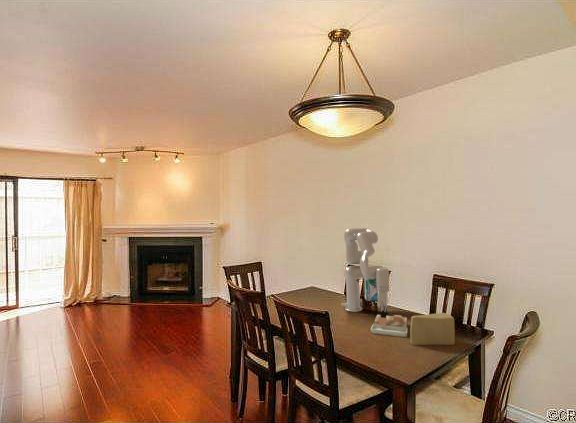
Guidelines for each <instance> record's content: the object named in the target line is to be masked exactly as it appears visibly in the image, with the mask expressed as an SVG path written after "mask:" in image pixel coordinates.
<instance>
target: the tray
mask: <svg viewBox="0 0 576 423" xmlns="http://www.w3.org/2000/svg"><path fill="white" fill-rule="evenodd" d="M408 330H409V328H408V326H407V327H399V326H389V325H387V326H382V325H379V324H375V323H372V325H371V327H370V334H373V335H382V336H391V337H399V338H408V333H409V332H408Z"/></svg>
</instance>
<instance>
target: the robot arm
mask: <svg viewBox="0 0 576 423" xmlns="http://www.w3.org/2000/svg"><path fill="white" fill-rule="evenodd" d="M343 238H344V243H345V252H346V253H345V254H346V255H345V256H346V257H345V258H346V263H347V264H348V265H350V266H347V267H346V268H344V276H345V285H346V286H345V287H346V302H341V304H340V305H341V306H342V307H344V310H345V311H347V312H351V313H352V312H354V313H357V312H362V311H363V307H362V306H361V298H360V297H361V294H360V293H361V292H360V284H359V282H358V280H360V279H363V280H364V278H368V279H369V278H376V286H377V291H378V301H377V308H378V309H379V308H380V315H381V318H386V316H387V306H388V292H390V271H389V269H388V268H387V267H383V266H382V265H371V266H369V258H370V257H371V256H373V255H374V254H375V252H376V251H375V248H374V246H373V245H374V244H376V243H378V240H379V237H378V235H377V232H375V231H374V230H371V229H369V228H366V227H361V228H359V227H358V228H349V229H346V230H344V234H343ZM359 249H360V250H359Z"/></svg>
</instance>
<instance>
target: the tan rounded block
mask: <svg viewBox="0 0 576 423" xmlns="http://www.w3.org/2000/svg"><path fill="white" fill-rule="evenodd" d="M455 331H456V330H455V318H454V317H453V316H452V315H450V314H448V313H445V312H438V313H429V314H420V315H419V314H418V315H413V316H411V317H410V332H409V335H410V336H409V337H410V344H411V345H412V346H423V345H425V346H429V345H432V346H433V345H440V346H442V345H443V346H445V345H446V346H448V345H449V346H453V345H455V344H456V342H455V341H456V340H455V338H456V336H455V334H456V333H455Z"/></svg>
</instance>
